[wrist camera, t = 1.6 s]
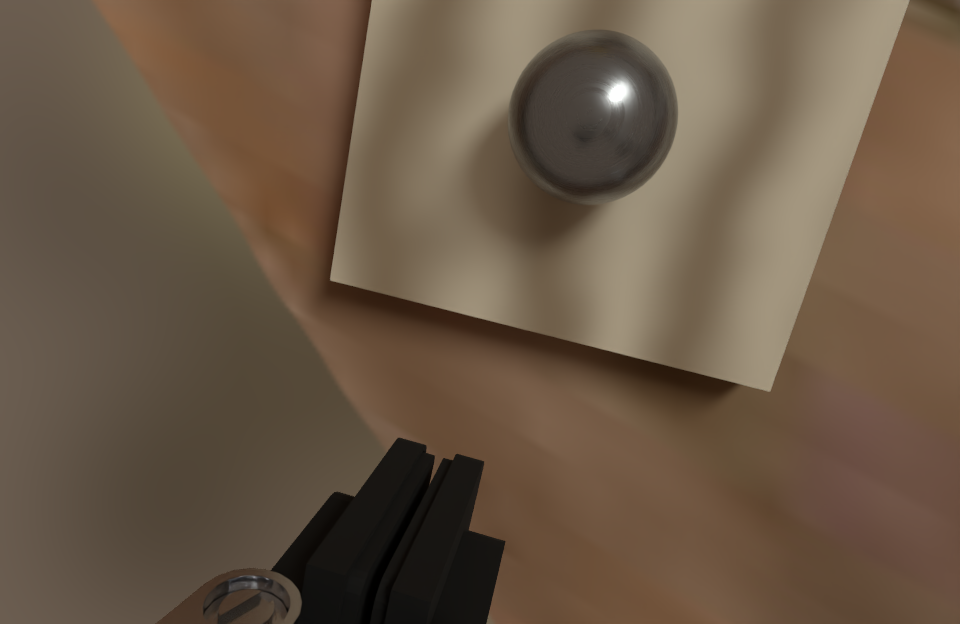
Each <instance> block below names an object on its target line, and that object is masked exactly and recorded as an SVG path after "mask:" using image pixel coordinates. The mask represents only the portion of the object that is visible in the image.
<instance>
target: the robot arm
mask: <svg viewBox="0 0 960 624" xmlns="http://www.w3.org/2000/svg"><path fill="white" fill-rule="evenodd" d="M434 459H435V456H434V455H431V454H428V453H426V445H424V444H420V443H417V442H413V441H409V440H406V439H402V438H398V439H397V440H396V441H395V442H394V444H393V445H392V446H391V448H390V449H389V451H388V452H387V453H386V455H385V456H384V457H383V459H382V460H381V462H380V463H379V464H378V466H377V467H376V469H375V470H374V471H373V473H372V474H371V475H370V477H369V478H368V480H367V481H366V482H365V484H364V485H363V486H362V488H361V489H360V491H359V492H358V493H357V495H356V496H355V497H354V496H350V495H347V494H343V493H340V492H334V493H333V494H332V495H331V496H330V497H329V499H328V500H327V501H326V502H325V503H324V505H323V506H322V507H321V508H320V510H319V511H318V512H317V514H316V515H315V516H314V517H313V518H312V520H311V521H310V522H309V524H308V525H307V526H306V527H305V528H304V530H303V531H302V532H301V534H300V535H299V536H298V537H297V539H296V540H295V541H294V542H293V543H292V545H291V546H290V547H289V548H288V550H287V551H286V552H285V553H284V555H283V556H282V557H281V558H280V560H279V561H278V562H277V563H276V565H275V566H274V567H273V568H272V570H271V571H270V570H266V569H255V568H247V569H239V570H233V571H230V572H227V573H224V574H221V575H218V576H217V577H215V578H213V579H212V580H210V581H208V582H207V583H205V584H204V585H203V586H201V587H200V588H199V589H198V590H197V591H195V592H194V593H193V594H192V595H190V596H189V597H188V598H187V599H185V600H184V601H183V602H182V603H181V604H179V605H178V606H177V607H176V608H174V609H173V610H172V611H171V612H169V613H168V614H167V615H166V616H165V617H163V618H162V619H161V620H160V621H158V622H157V623H156V624H486V622H487V618H488V614H489V610H490V605H491V601H492V597H493V592H494V588H495V584H496V580H497V575H498V571H499V567H500V562H501V558H502V554H503V550H504V545H505V541H503V540H499V539H496V538H492V537H489V536H486V535H482V534H479V533H476V532H472V531H469V526H470V522H471V517H472V513H473V509H474V505H475V500H476V496H477V492H478V488H479V483H480V479H481V475H482V471H483V466H484V461H481V460H477V459H474V458H470V457H466V456H463V455H459V454H456V455H455V457H454V460H453V461H452V460H449V459H445V458H443V460H442V462H441V464H440V466H439V468H438V470H437V472H436V474H435V476H434V477H433V479H432V481H431V483H430V479H431V474H432V469H433V465H434ZM429 484H430V485H429Z"/></svg>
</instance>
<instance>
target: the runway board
mask: <svg viewBox="0 0 960 624" xmlns="http://www.w3.org/2000/svg"><path fill="white" fill-rule="evenodd" d="M908 3H909V0H372V3H371V10H370V17H369V23H368V30H367V37H366V43H365V50H364V57H363V63H362V70H361V77H360V83H359V90H358V96H357V103H356V110H355V116H354V123H353V130H352V136H351V143H350V150H349V156H348V163H347V170H346V176H345V183H344V190H343V196H342V203H341V209H340V216H339V223H338V229H337V236H336V243H335V249H334V256H333V263H332V269H331V276H330V280H331V281H334V282H338V283H342V284H346V285H350V286H354V287H358V288H362V289H366V290H370V291H374V292H378V293H382V294H386V295H390V296H394V297H398V298H402V299H406V300H410V301H414V302H417V303H421V304H425V305H429V306H433V307H437V308H441V309H445V310H449V311H453V312H457V313H461V314H465V315H469V316H473V317H477V318H481V319H485V320H489V321H493V322H497V323H500V324H504V325H508V326H512V327H516V328H520V329H524V330H528V331H532V332H536V333H540V334H544V335H548V336H552V337H556V338H560V339H564V340H568V341H572V342H576V343H579V344H583V345H587V346H591V347H595V348H599V349H603V350H607V351H611V352H615V353H619V354H623V355H627V356H631V357H635V358H639V359H643V360H647V361H651V362H655V363H659V364H662V365H666V366H670V367H674V368H678V369H682V370H686V371H690V372H694V373H698V374H702V375H706V376H710V377H714V378H718V379H722V380H726V381H730V382H734V383H738V384H741V385H745V386H749V387H753V388H757V389H761V390H765V391H769V392H770V390H771V388H772V385H773V382H774V379H775V376H776V374H777V371H778V368H779V365H780V362H781V360H782V357H783V354H784V351H785V348H786V346H787V343H788V340H789V337H790V334H791V332H792V329H793V326H794V323H795V320H796V317H797V315H798V312H799V309H800V306H801V303H802V301H803V298H804V295H805V292H806V289H807V287H808V284H809V281H810V278H811V275H812V273H813V270H814V267H815V264H816V261H817V259H818V256H819V253H820V250H821V247H822V244H823V242H824V239H825V236H826V233H827V230H828V228H829V225H830V222H831V219H832V216H833V214H834V211H835V208H836V205H837V202H838V200H839V197H840V194H841V191H842V188H843V185H844V183H845V180H846V177H847V174H848V171H849V169H850V166H851V163H852V160H853V157H854V155H855V152H856V149H857V146H858V143H859V141H860V138H861V135H862V132H863V129H864V127H865V124H866V121H867V118H868V115H869V112H870V110H871V107H872V104H873V101H874V98H875V96H876V93H877V90H878V87H879V84H880V82H881V79H882V76H883V73H884V70H885V68H886V65H887V62H888V59H889V56H890V54H891V51H892V48H893V45H894V42H895V39H896V37H897V34H898V31H899V28H900V25H901V23H902V20H903V17H904V14H905V11H906V9H907V6H908ZM595 29H602V30H611V31H616V32H619V33H623V34H626V35H628V36H630V37H633V38H635V39H636V40H638V41H640V42H641V43H643V44H645V45H646V46H647V47H648V48H649V49H651V50H652V51H653V52H654V53H655V54H656V55H657V57H658V58H659V59H660V60H661V61H662V63H663V64H664V66H665V67H666V69H667V70H668V73H669V75H670V77H671V79H672V81H673V84H674V87H675V90H676V96H677V101H678V124H677V130H676V134H675V138H674V141H673V144H672V147H671V149H670V151H669V153H668V155H667V157H666V159H665V161H664V162H663V164H662V165H661V167H660V168H659V170H658V171H657V172H656V173H655V174H654V175H653V177H652V178H651V179H650V180H648V181H647V182H646V183H645V184H644V185H643V186H641V187H640V188H639V189H637V190H636V191H634V192H633V193H631V194H629V195H627V196H625V197H623V198H621V199H618V200H615V201H612V202H608V203H604V204H597V205H579V204H573V203H569V202H565V201H562V200H559V199H557V198H555V197H552V196H550V195H549V194H547V193H546V192H544V191H542V190H541V189H540V188H538V187H537V186H536V185H535V184H534V183H533V182H532V181H531V180H530V179H529V178H528V177H527V176H526V175H525V173H524V172H523V170H522V169H521V168H520V166H519V164H518V162H517V160H516V158H515V156H514V153H513V151H512V148H511V144H510V140H509V135H508V109H509V103H510V99H511V95H512V92H513V89H514V87H515V85H516V82H517V80H518V78H519V77H520V75H521V73H522V71H523V70H524V69H525V67H526V66H527V65H528V63H529V62H530V61H531V60H532V59H533V58H534V57H535V56H536V54H537V53H539V52H540V51H541V50H542V49H544V48H545V47H546V46H547V45H549V44H551V43H552V42H554V41H555V40H557V39H559V38H561V37H564V36H566V35H568V34H572V33H575V32H578V31H584V30H595Z"/></svg>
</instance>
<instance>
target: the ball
mask: <svg viewBox="0 0 960 624" xmlns="http://www.w3.org/2000/svg"><path fill="white" fill-rule="evenodd" d="M677 124H678V101H677V96H676V90H675V87H674V84H673V81H672V79H671V77H670V75H669V73H668V70H667V69H666V67H665V66H664V64H663V63H662V61H661V60H660V59H659V58H658V57H657V55H656V54H655V53H654V52H653V51H652V50H651V49H649V48H648V47H647V46H646V45H645V44H643V43H641V42H640V41H638V40H636V39H635V38H633V37H630V36H628V35H626V34H623V33H619V32H616V31H611V30H602V29H595V30H584V31H578V32H575V33H572V34H568V35H566V36H564V37H561V38H559V39H557V40H555V41H554V42H552V43H551V44H549V45H547V46H546V47H545V48H544V49H542V50H541V51H540V52H539V53H537V54H536V56H535V57H534V58H533V59H532V60H531V61H530V62H529V63H528V65H527V66H526V67H525V69H524V70H523V71H522V73H521V75H520V77H519V78H518V80H517V82H516V85H515V87H514V89H513V92H512V95H511V99H510V103H509V109H508V135H509V140H510V144H511V148H512V151H513V153H514V156H515V158H516V160H517V162H518V164H519V166H520V168H521V169H522V170H523V172H524V173H525V175H526V176H527V177H528V178H529V179H530V180H531V181H532V182H533V183H534V184H535V185H536V186H537V187H538V188H540V189H541V190H542V191H544V192H546V193H547V194H549V195H550V196H552V197H555V198H557V199H559V200H562V201H565V202H569V203H573V204H579V205H597V204H604V203H608V202H612V201H615V200H618V199H621V198H623V197H625V196H627V195H629V194H631V193H633V192H634V191H636V190H637V189H639V188H640V187H641V186H643V185H644V184H645V183H646V182H647V181H648V180H650V179H651V178H652V177H653V175H654V174H655V173H656V172H657V171H658V170H659V168H660V167H661V165H662V164H663V162H664V161H665V159H666V157H667V155H668V153H669V151H670V149H671V147H672V144H673V141H674V138H675V134H676V130H677Z"/></svg>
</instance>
